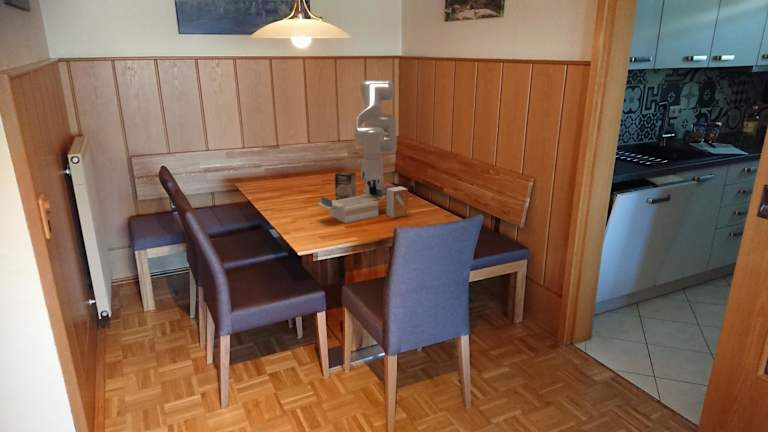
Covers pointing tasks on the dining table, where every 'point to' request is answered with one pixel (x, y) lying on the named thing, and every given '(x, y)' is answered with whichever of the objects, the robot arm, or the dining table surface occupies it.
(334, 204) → the lid panel
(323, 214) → the dining table surface
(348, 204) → the carton
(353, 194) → the coffee box
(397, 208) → the small box
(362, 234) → the dining table surface
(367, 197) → the lid panel
